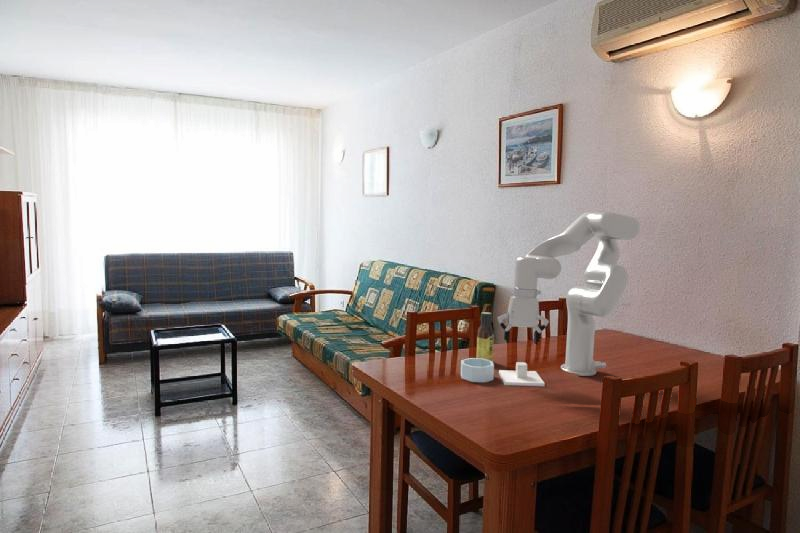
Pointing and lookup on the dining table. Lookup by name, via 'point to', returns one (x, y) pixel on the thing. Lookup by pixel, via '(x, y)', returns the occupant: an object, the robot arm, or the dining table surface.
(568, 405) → the dining table surface
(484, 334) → the sauce bottle
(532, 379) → the lid
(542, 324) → the robot arm
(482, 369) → the bowl
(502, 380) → the mat
